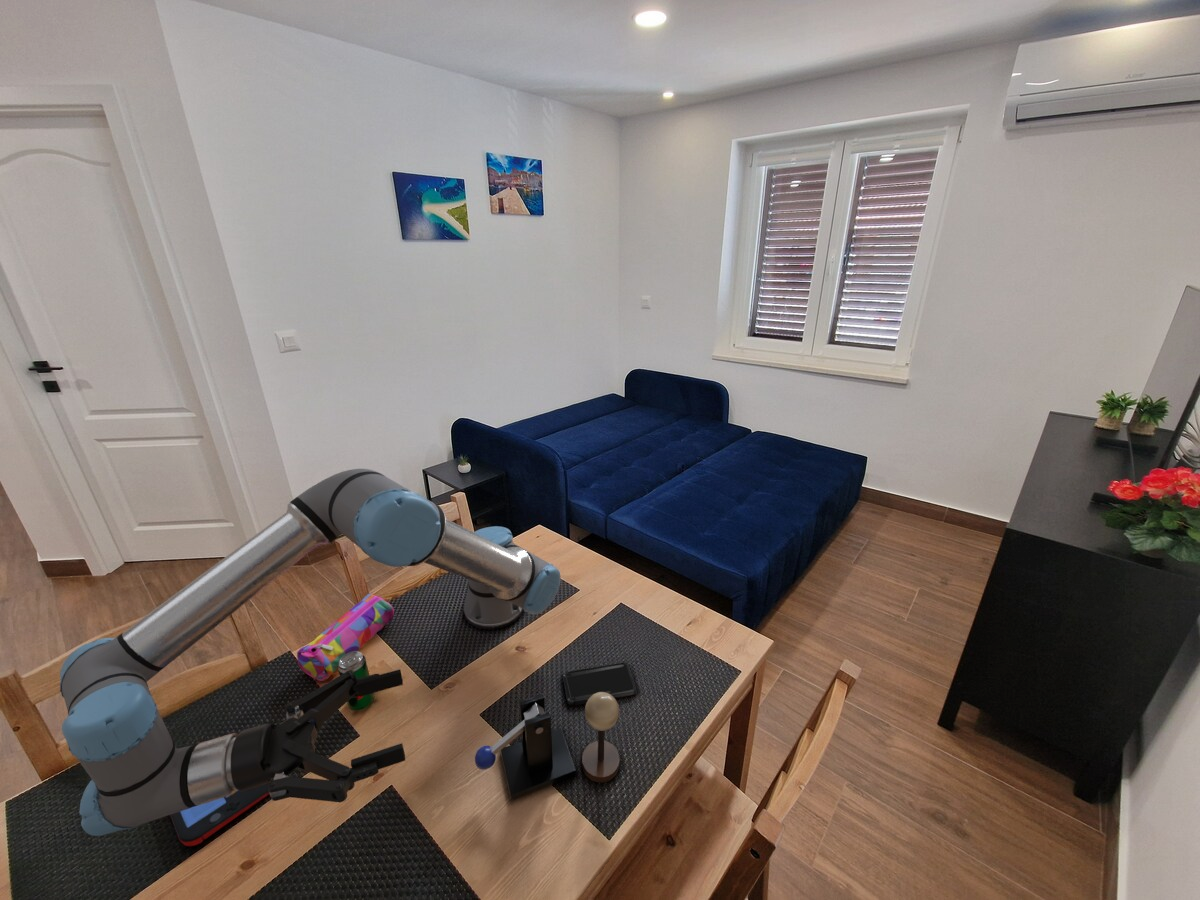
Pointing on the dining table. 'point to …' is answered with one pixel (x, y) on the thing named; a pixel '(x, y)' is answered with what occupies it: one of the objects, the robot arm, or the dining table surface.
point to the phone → (598, 682)
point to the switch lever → (504, 740)
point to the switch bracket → (536, 754)
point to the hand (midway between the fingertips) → (402, 711)
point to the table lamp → (601, 738)
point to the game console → (214, 814)
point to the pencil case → (344, 637)
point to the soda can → (360, 669)
